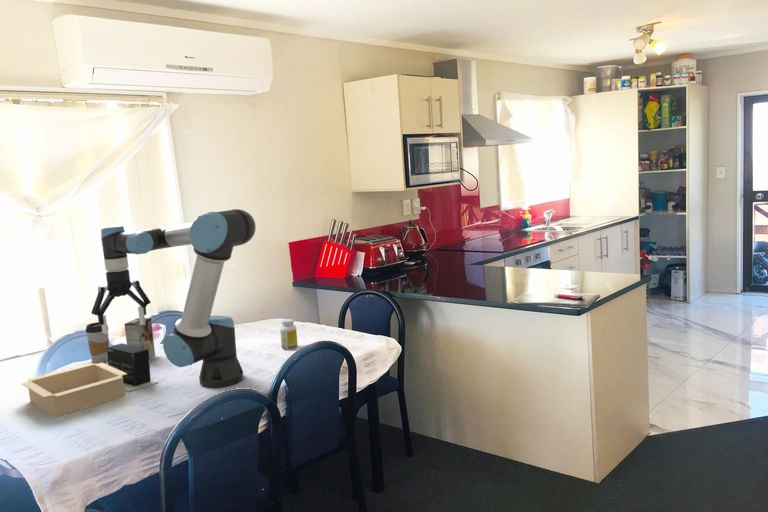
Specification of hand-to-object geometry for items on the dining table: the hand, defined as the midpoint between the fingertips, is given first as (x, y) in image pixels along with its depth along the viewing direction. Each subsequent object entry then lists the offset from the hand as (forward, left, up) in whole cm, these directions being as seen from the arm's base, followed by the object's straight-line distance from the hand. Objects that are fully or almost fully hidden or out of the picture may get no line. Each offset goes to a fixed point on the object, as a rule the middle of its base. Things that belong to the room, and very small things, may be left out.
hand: (124, 328), depth 228 cm
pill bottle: (-16, -60, -20) cm, 65 cm away
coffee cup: (+34, -4, -20) cm, 40 cm away
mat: (0, 0, -19) cm, 19 cm away
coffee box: (+21, -15, -20) cm, 33 cm away
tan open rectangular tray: (-2, +19, -19) cm, 27 cm away
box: (0, 0, -19) cm, 19 cm away
